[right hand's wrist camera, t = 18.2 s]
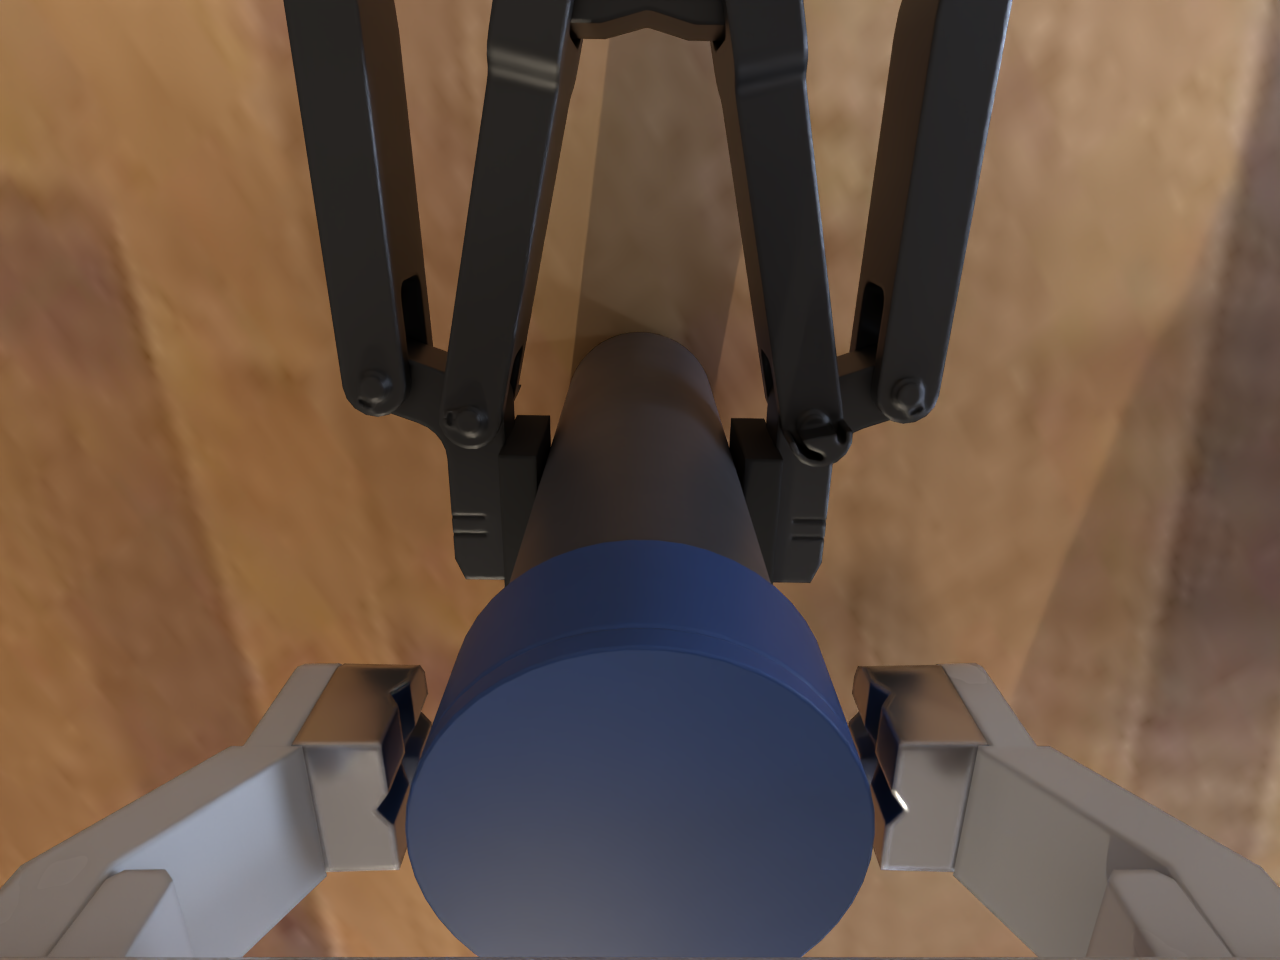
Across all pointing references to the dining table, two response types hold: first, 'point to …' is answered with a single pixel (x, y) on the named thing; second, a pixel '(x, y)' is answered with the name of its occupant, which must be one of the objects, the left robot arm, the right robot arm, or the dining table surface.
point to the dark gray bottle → (639, 460)
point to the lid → (640, 767)
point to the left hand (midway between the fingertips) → (636, 687)
